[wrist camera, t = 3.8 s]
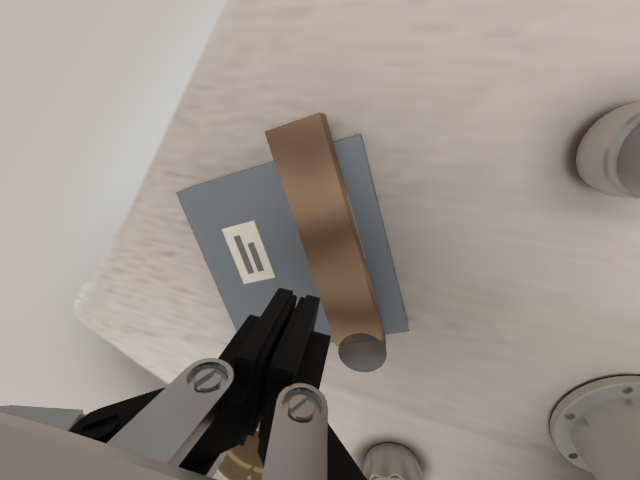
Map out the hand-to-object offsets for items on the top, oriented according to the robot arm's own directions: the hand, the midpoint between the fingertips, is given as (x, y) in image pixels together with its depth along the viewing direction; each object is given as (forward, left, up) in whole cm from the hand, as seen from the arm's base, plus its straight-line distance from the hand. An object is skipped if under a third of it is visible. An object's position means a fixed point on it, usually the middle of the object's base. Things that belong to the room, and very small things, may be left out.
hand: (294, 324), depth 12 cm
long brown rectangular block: (-2, 0, -14) cm, 14 cm away
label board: (-3, +5, -18) cm, 19 cm away
